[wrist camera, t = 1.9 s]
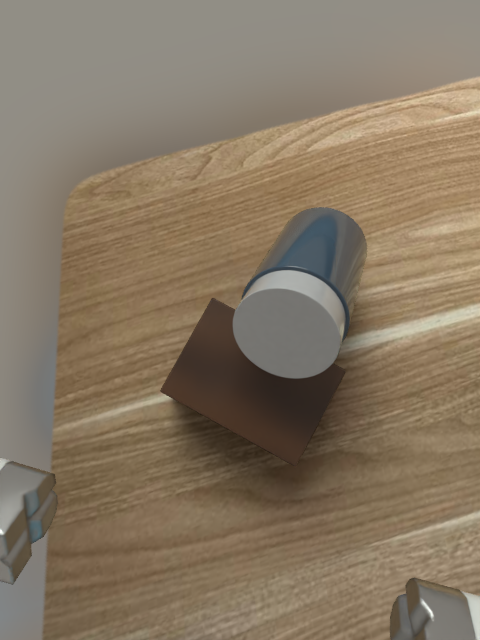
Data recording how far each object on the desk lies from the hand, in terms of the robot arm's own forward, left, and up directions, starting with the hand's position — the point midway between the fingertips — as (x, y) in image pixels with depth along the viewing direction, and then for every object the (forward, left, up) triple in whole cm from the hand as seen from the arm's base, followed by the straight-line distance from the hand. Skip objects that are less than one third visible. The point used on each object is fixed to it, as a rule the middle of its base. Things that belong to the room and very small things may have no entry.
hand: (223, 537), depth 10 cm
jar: (-4, +9, -24) cm, 26 cm away
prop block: (-1, +3, -24) cm, 24 cm away
